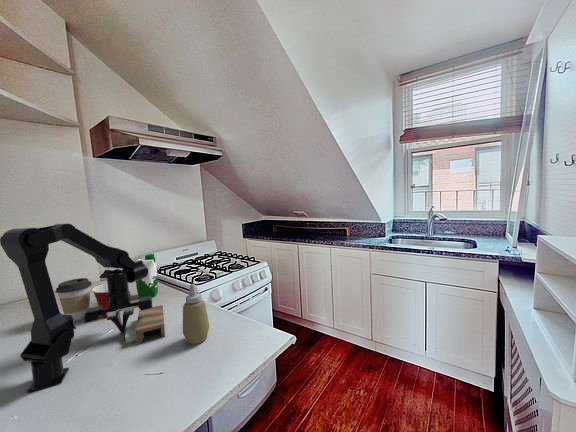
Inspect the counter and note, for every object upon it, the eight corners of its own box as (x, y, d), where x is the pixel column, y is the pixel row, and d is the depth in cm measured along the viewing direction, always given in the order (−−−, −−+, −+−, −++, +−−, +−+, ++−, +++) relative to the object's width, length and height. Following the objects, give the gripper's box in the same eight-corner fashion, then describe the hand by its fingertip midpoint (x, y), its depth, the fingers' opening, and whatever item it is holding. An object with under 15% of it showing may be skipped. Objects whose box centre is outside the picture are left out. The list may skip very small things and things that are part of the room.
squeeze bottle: (181, 349, 76) (176, 290, 75) (185, 336, 84) (180, 282, 83) (210, 344, 78) (205, 286, 77) (210, 331, 86) (206, 278, 85)
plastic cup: (110, 321, 98) (107, 291, 97) (87, 320, 100) (84, 290, 100) (133, 309, 109) (130, 281, 108) (112, 308, 111) (109, 281, 110)
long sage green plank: (144, 339, 84) (143, 332, 84) (126, 345, 82) (125, 337, 81) (142, 325, 94) (142, 318, 94) (126, 329, 92) (126, 322, 92)
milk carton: (156, 297, 122) (153, 255, 121) (135, 300, 119) (131, 258, 118) (160, 291, 130) (156, 252, 129) (140, 294, 127) (136, 254, 126)
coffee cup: (100, 314, 105) (96, 279, 104) (64, 327, 96) (60, 288, 95) (89, 309, 111) (85, 276, 110) (55, 320, 102) (50, 284, 101)
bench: (165, 336, 84) (163, 323, 84) (137, 344, 80) (135, 330, 80) (163, 316, 100) (162, 304, 100) (140, 321, 96) (139, 310, 96)
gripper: (150, 276, 97) (154, 316, 98) (89, 286, 88) (94, 330, 89) (149, 284, 87) (154, 328, 88) (80, 297, 78) (86, 345, 79)
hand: (123, 332), depth 86 cm, fingers closed
